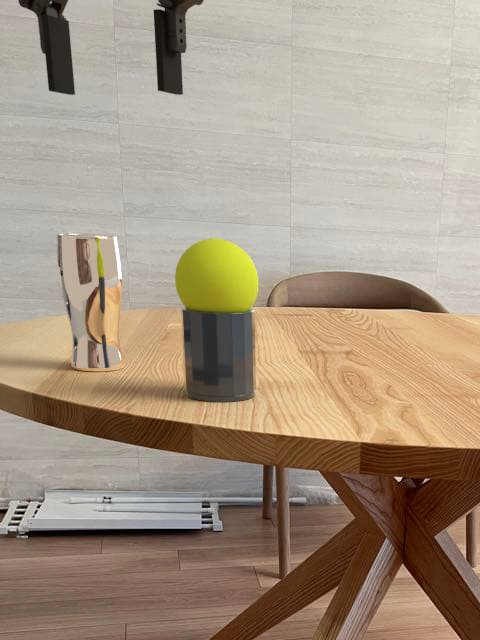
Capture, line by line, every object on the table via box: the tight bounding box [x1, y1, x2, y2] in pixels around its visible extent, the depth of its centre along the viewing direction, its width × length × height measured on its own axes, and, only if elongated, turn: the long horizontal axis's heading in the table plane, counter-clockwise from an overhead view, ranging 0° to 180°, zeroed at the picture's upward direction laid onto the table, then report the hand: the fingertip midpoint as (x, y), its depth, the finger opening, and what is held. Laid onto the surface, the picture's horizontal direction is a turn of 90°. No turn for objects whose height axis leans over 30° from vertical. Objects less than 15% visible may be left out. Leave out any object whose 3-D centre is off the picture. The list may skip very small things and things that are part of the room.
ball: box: [174, 237, 260, 313], centre depth 85 cm, size 8×8×8 cm
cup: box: [180, 306, 257, 403], centre depth 88 cm, size 7×7×9 cm
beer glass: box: [55, 232, 126, 372], centre depth 97 cm, size 7×7×15 cm
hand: (114, 93), depth 81 cm, fingers open, 13 cm apart
